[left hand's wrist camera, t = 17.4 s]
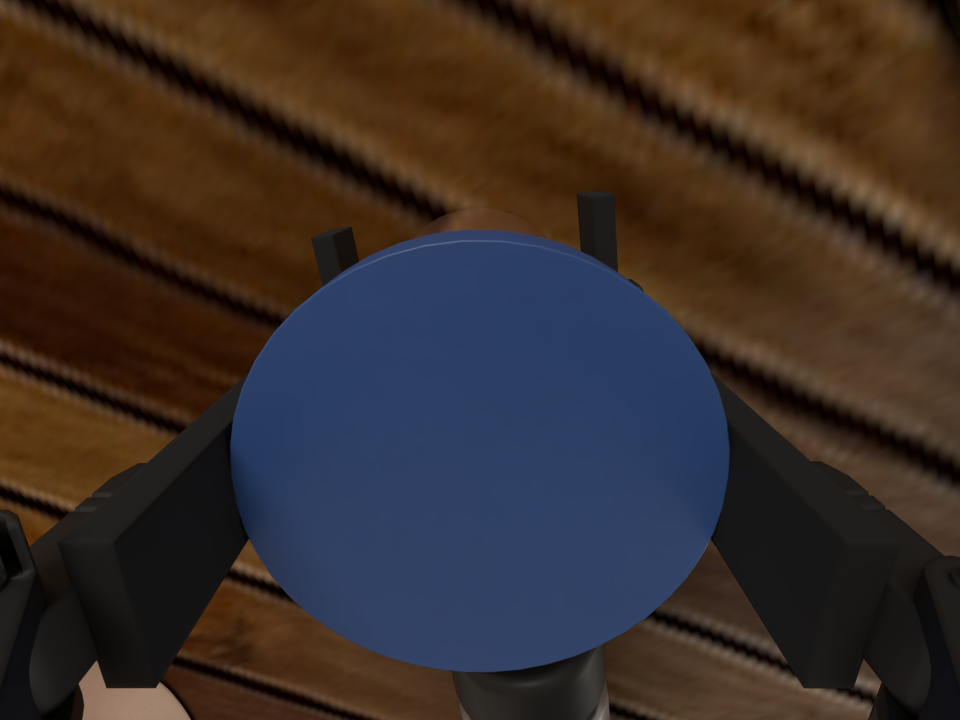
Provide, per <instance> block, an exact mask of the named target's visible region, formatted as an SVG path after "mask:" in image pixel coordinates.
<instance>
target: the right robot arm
mask: <svg viewBox="0 0 960 720" xmlns="http://www.w3.org/2000/svg"><path fill="white" fill-rule="evenodd" d="M577 204H578V217H579V231H580V244H581V252H583V253H585V254H587V255H590V256H592V257H594V258H595V259H597V260H598V261H600V262H602V263H603V264H605V265H607V266H608V267H610V268H611V269H613V270H615V271H616V272H618V264H617V245H616V225H615V205H614V194H611V193H606V192H601V191H591V192H584V193H578V194H577ZM311 240H312V244H313V248H314V252H315V256H316V260H317V264H318V268H319V272H320V276H321V280H322V284H323V286H325V285H326V284H327V283H329V282H330V281H331V280H333V279H334V278H335V277H337V276H338V275H339V274H341V273H342V272H343V271H345V270H346V269H348V268H350V267H351V266H353V265H355V264H356V263H358V262H359V259H358V255H357V250H356V246H355V241H354V236H353V232H352V227H346V228H339V229H332V230H330V231H328V232H325V233H323V234H320V235H318V236H316V237H313V238H311ZM627 280H629V281H630V282H631V283H633V284H634V285H635V286H637V287H638V288H639V289H640V290H642V291H643V289H642V287H641V286H640V285H638V284H637V283H636V282H634V281H633V280H632V279H627ZM643 292H644V291H643ZM452 675H453V679H454V684H455V688H456V692H457V695H458V701H459V706H460V711H461V716H462V720H610V715H609V703H608V691H607V683H606V669H605V655H604V644H602V645H600V646H598V647H596V648H593V649H591V650H588V651H586V652H584V653H581V654H579V655H576V656H574V657H570V658H567V659H564V660H560V661H557V662H553V663H550V664H546V665H541V666H536V667H531V668H525V669H520V670H509V671H499V672H460V671H452Z"/></svg>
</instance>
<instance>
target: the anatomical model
mask: <svg viewBox="0 0 960 720" xmlns="http://www.w3.org/2000/svg"><path fill="white" fill-rule="evenodd" d="M79 686H80V688H81V691H82V694H83V700H84V712H83V719H82V720H191V719H190V717H189V715H188V714H187V712H186V711H185V709H184V708H183V706H182V705H181V703H180V702H179V701H178V700H177V698H176V697H175V696H174V695H173V694H172V693H171V691H170V690H169V689H168V688H167V687H166V686H164V685H163V684H162V683H161V682H159V684H158V686H157V687H156V688H106V686H105V683H104V680H103V677H102V674H101V671H100V668H99V665H98V662H97V661H96V662H95V663H94V664H93V666H92V667H91V668H90V670H89V671H88V672H87V673H86V675H85V676H84V677H83V679H82V680H81V681H80V683H79Z"/></svg>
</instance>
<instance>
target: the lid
mask: <svg viewBox="0 0 960 720" xmlns="http://www.w3.org/2000/svg"><path fill="white" fill-rule="evenodd" d="M729 459H730V446H729V437H728V428H727V420H726V416H725V412H724V409H723V405H722V401H721V398H720V394H719V391H718V388H717V386H716V384H715V382H714V380H713V377H712V375H711V373H710V371H709V368H708V366H707V364H706V362H705V361H704V359H703V357H702V356H701V354H700V353H699V351H698V350H697V348H696V347H695V345H694V344H693V342H692V341H691V339H690V337H689V336H688V335H687V334H686V333H685V331H684V330H683V329H682V328H681V327H680V326H679V325H678V324H677V322H676V321H675V320H674V319H673V318H672V317H671V316H670V315H669V313H668V312H667V311H666V310H664V309H663V308H662V307H661V306H660V305H658V304H657V303H656V302H655V301H654V300H652V299H651V298H650V297H649V296H648V295H646V294H645V293H644V292H643V291H642V290H640V289H639V288H638V287H637V286H635V285H634V284H633V283H631V282H630V281H629V280H627V279H626V278H625V277H623V276H622V275H621V274H619V273H618V272H616V271H615V270H613V269H611V268H610V267H608V266H607V265H605V264H603V263H602V262H600V261H598V260H597V259H595V258H594V257H592V256H590V255H587V254H585V253H583V252H581V251H578V250H576V249H574V248H571V247H569V246H567V245H565V244H562V243H559V242H555V241H552V240H548V239H545V238H541V237H537V236H534V235H530V234H523V233H516V232H509V231H502V230H459V231H452V232H444V233H436V234H430V235H426V236H423V237H419V238H415V239H412V240H408V241H404V242H400V243H398V244H396V245H393V246H391V247H389V248H386V249H384V250H381V251H379V252H377V253H374V254H372V255H370V256H368V257H366V258H365V259H363V260H361V261H360V262H358V263H356V264H355V265H353V266H351V267H350V268H348V269H346V270H345V271H343V272H342V273H341V274H339V275H338V276H337V277H335V278H334V279H333V280H331V281H330V282H329V283H327V284H326V285H325V286H323V287H322V288H321V289H320V290H318V291H317V292H316V293H315V294H313V295H312V296H311V297H310V298H309V299H307V300H306V301H305V302H304V303H302V304H301V305H300V306H299V307H297V308H296V309H295V310H294V311H293V312H292V314H291V315H290V316H289V317H288V318H287V319H286V320H285V321H284V322H283V323H282V324H281V326H280V327H279V328H278V329H277V330H276V331H275V332H274V333H273V335H272V336H271V337H270V339H269V340H268V342H267V343H266V345H265V346H264V348H263V349H262V351H261V352H260V354H259V355H258V357H257V358H256V360H255V362H254V364H253V366H252V368H251V370H250V372H249V375H248V377H247V379H246V381H245V383H244V385H243V387H242V390H241V394H240V397H239V401H238V404H237V408H236V411H235V414H234V419H233V426H232V434H231V442H230V466H231V477H232V483H233V488H234V493H235V499H236V504H237V508H238V511H239V514H240V517H241V520H242V523H243V526H244V529H245V531H246V533H247V535H248V537H249V539H250V541H251V543H252V545H253V547H254V549H255V551H256V553H257V555H258V557H259V558H260V559H261V561H262V562H263V564H264V565H265V567H266V568H267V570H268V571H269V573H270V574H271V576H272V577H273V578H274V579H275V580H276V582H277V583H278V584H279V585H280V586H281V587H282V588H283V590H284V591H285V592H286V593H287V594H288V595H289V596H290V597H291V598H292V599H293V600H294V601H295V602H296V603H297V604H298V605H300V606H301V607H302V608H303V609H304V610H305V611H306V612H307V613H309V614H310V615H311V616H312V617H314V618H315V619H316V620H318V621H319V622H321V623H322V624H324V625H325V626H326V627H328V628H329V629H331V630H332V631H334V632H335V633H337V634H339V635H341V636H343V637H344V638H346V639H348V640H350V641H352V642H353V643H355V644H357V645H359V646H362V647H364V648H366V649H369V650H371V651H374V652H376V653H378V654H381V655H383V656H386V657H390V658H393V659H396V660H399V661H403V662H406V663H409V664H414V665H419V666H424V667H429V668H434V669H440V670H450V671H460V672H499V671H509V670H520V669H525V668H531V667H536V666H541V665H546V664H550V663H553V662H557V661H560V660H564V659H567V658H570V657H574V656H576V655H579V654H581V653H584V652H586V651H588V650H591V649H593V648H596V647H598V646H600V645H602V644H604V643H606V642H608V641H610V640H612V639H613V638H615V637H617V636H619V635H621V634H623V633H624V632H626V631H627V630H629V629H630V628H632V627H633V626H635V625H636V624H638V623H639V622H640V621H642V620H643V619H645V618H646V617H647V616H649V615H650V614H651V613H652V612H653V611H654V610H656V609H657V608H658V607H659V606H660V605H661V604H662V603H664V602H665V601H666V600H667V599H668V598H669V597H670V596H671V595H672V594H673V592H674V591H675V590H676V589H677V588H678V587H679V586H680V585H681V584H682V582H683V581H684V580H685V579H686V578H687V576H688V575H689V573H690V572H691V571H692V569H693V568H694V566H695V565H696V563H697V562H698V561H699V559H700V558H701V556H702V554H703V552H704V550H705V549H706V547H707V545H708V543H709V541H710V539H711V537H712V535H713V533H714V531H715V528H716V525H717V522H718V519H719V517H720V514H721V511H722V507H723V501H724V496H725V491H726V486H727V481H728V474H729Z"/></svg>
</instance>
